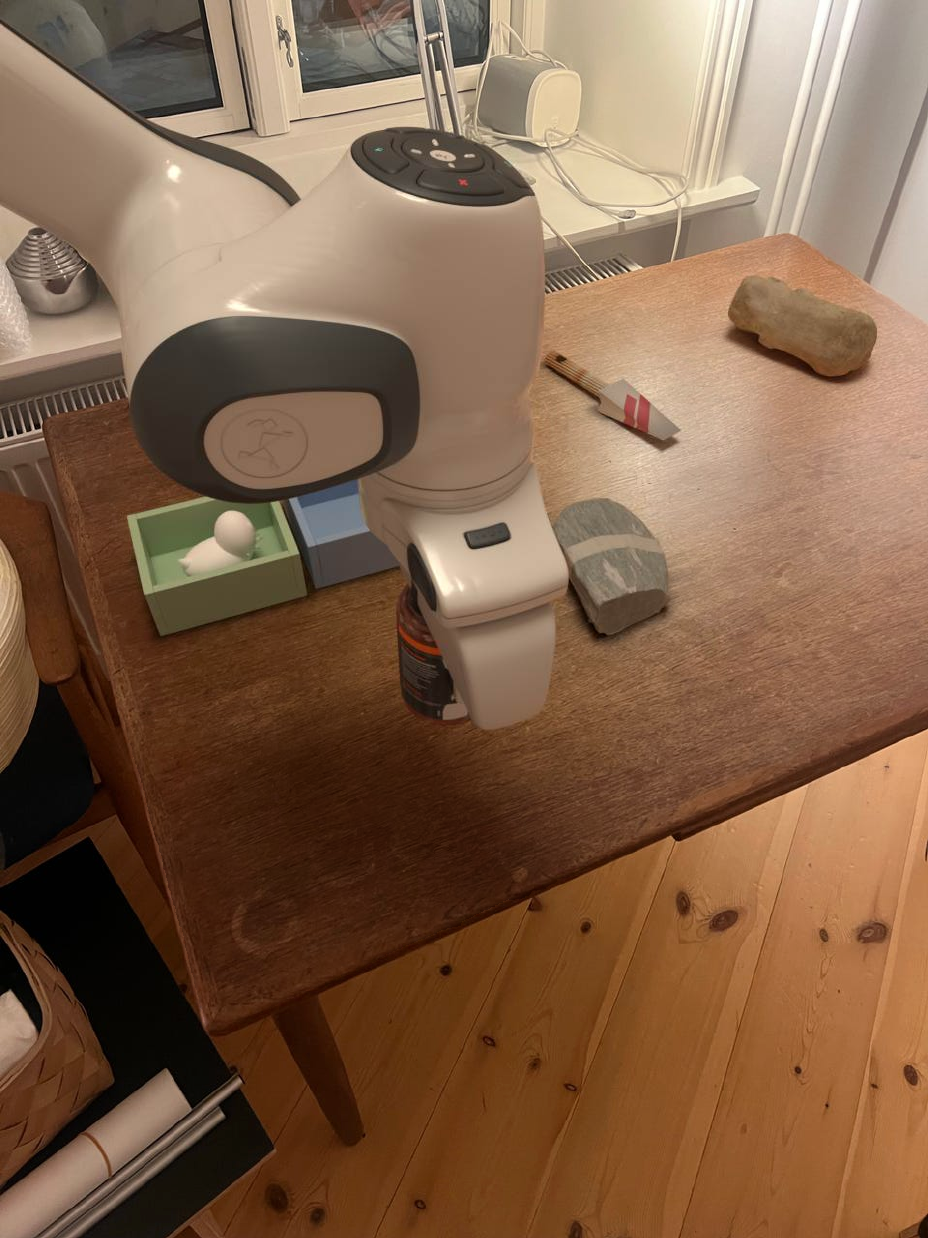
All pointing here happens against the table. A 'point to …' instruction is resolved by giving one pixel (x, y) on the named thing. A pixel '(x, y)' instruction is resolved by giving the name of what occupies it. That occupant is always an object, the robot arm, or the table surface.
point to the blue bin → (336, 536)
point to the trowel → (617, 399)
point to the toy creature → (223, 545)
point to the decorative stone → (612, 563)
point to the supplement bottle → (423, 667)
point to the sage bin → (216, 591)
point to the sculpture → (803, 325)
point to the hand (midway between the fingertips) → (445, 648)
